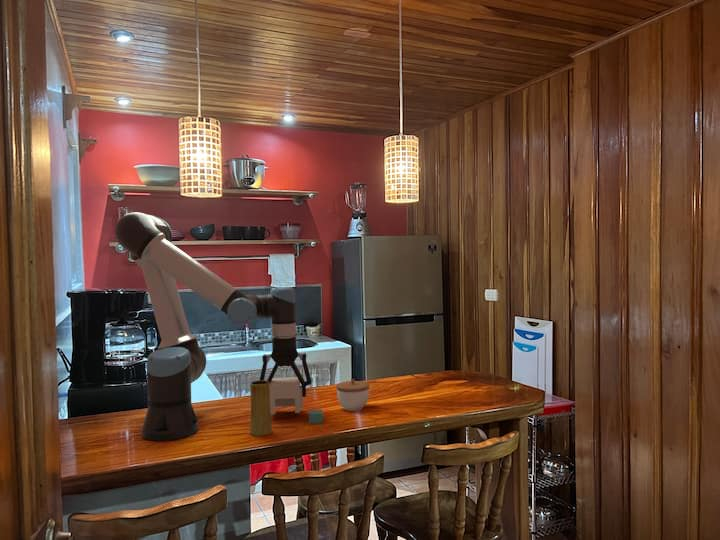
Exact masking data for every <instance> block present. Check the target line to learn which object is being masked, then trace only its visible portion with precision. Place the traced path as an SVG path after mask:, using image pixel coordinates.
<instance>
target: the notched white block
mask: <svg viewBox="0 0 720 540" xmlns="http://www.w3.org/2000/svg"><path fill="white" fill-rule="evenodd" d="M300 386H301V383H300V381H299V380H298V378H297V376H295V377H293V376H292V377H290V376H289V377H273V379H272V381H271V382H270V385H269V387H270V411H271V415H276V407H294V414H300V413H301V408H300Z"/></svg>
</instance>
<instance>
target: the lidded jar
mask: <svg viewBox="0 0 720 540" xmlns="http://www.w3.org/2000/svg"><path fill="white" fill-rule="evenodd" d="M369 394H370V384H369V383H368V382H365V381H361V380H355V379H353V378H352V379H351V380H346V381H341V382H338V383H337V384H336V397H337V400H338V403H339V404H340V406H341V408H343V410H345V411H349V412H356V411H360V410H361V411H362V409H363V407H365V406H366V404H367V402H368V399H369V396H370V395H369Z"/></svg>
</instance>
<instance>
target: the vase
mask: <svg viewBox="0 0 720 540" xmlns="http://www.w3.org/2000/svg"><path fill="white" fill-rule="evenodd" d="M249 386H250V429H249V433H250V435H252V436H256V437H263V436H267V435H270V434H271V433H272V432H273V428H272V414H271V411H270V385H269V381H267V380H265V379H264V380H260V379H259V380H254V381H251V382H250V385H249Z"/></svg>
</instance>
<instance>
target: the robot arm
mask: <svg viewBox="0 0 720 540" xmlns="http://www.w3.org/2000/svg"><path fill="white" fill-rule="evenodd" d="M114 236H115V239H116V241H117V243H118V245H120V247H122V248H123V249H124V250H125V251H127V252H129V253H130V254H131V255H132V257H133V262H134V263H135V264H137V265H139V266H140V267H141V268H140V269H141V270H142V274H143V278H144V281H145V286H146V288H147V293H148V296H149V300H150V303H151V308H152V310H153V314H154V317H155V318H154V319H155V321H156V324H157V328H158V333H159V336H160V339H161V341H160V343H159V346H157V349H156V350H154V351H151V353H150V354H148V356H147V359H146V360H147V361H146V362H147V363H146V375H147V376H146V377H147V379H146V380H147V381H146V382H147V384H146V385H147V411H146V414H145V417H144V420H143V423H142V426H141V436H142V438H143V439H145V440H148V441H154V442H158V441H159V442H164V441H165V442H166V441H172V440H173V441H174V440H179V439H183V438H186V437H189V436H192V435H193V434H195V433H197V432H198V431H199V421H198V417H197V414H196V412H195V409H194V407H193V403H192V384H193V383H194V382H195V381H197V380H199V379H200V377H201V376H202V375H203V373H204V371H205V369H206V366H207V355H206V353H205V351H204V350H203V348H202V347H200V345H199V342H198V339H197V336H196V335H194V334H193V333H191V332H190V329H189V325H188V321H187V318H186V314H185V310H184V306H183V302H182V299H181V294H180V292H179V288H178V285H177V281H178V282H179V283H181V284H182V285H183V286H185V287H187V288H188V290H190V291H192V292H193V293H195V294H197V295H198V296H199V297H201V298H202V299H203V300H206V301H207V302H208V303H209V304H211V305H213V306H214V308H215V307H216V308H217V309H218V310H220V311H221V312H222V313H224V314H225V315H227V316H228V319H229V320H230V322H232V323H233V324H234V325H238V326H243V325H244V326H245V325H249V324H250V323H251V322H253V321H254V320H255V319H257V320H258V319H271V335H272V338H271V341H272V342H271V343H272V345H271V347H272V348H271V350H272V351H271V353H270V354H263V355H262V367H261V372H260V377H259V380H265V377H266V372H267V368H268V363H269V362H270V360H271V359H272V360H273V362H274V365H273V367H272V370H271V371H270V373H269V376H268V378H267V380H266V381H269V386H270V382H271V381H272V379H273V378H275V377H274V376H275V374H276V372H277V370H278V368H279V367H280V368H282V367H287V368H288V367H290V368H291V369H292V370H293V373H294V374H295V377H297V378H298V380H299V381H300V409H303V402H304V401H303V398H306V397H307V386H311V385H312V378H311V374H310V371H309V367H308V363H307V353H306V352H302V353H301V352H298V351H297V337H296V335H297V321H296V320H297V319H296V318H297V317H296V316H297V314H296V313H297V312H296V311H297V310H296V307H297V305H296V292H295V289H294V288H293V287H291V286H290V287H286V286H284V287H282V286H281V287H272V288H271V290H270V293H267V294H244V293H243V292H241V291H240V290H238V289H237V288H235V287H234V286H233V285H231V284H230V283H228V282H227V281H226V280H224V279H223V278H222V277H220V276H218V275H217V274H216V273H214V272H212V271H211V270H210V269H208V268H207V267H206V266H204V265H203V264H202V263H200V262H198V261H197V260H196V259H194V258H193V257H192V256H190V255H189V254H187V253H186V252H184V251H183V250H181V249H180V248H178V247H177V246H175V245H174V244H172V241H173V231H172V229H171V227H170V225H169V224H168V223H167V222H166V221H165V220H164V219H163V218H161V217H159V216H157V215H153V214H146V213H143V212H140V211H139V212H137V211H136V212H135V211H134V212H128V213H127V214H124V215H123V216H121V217H120V218H119V219H118V220H117V222H116V224H115V227H114ZM298 358H299V360H300V361H301V362H302V366H303V371H304V375H305V378H306V379H305V378H304V377H303V375H302V373H301V372H300V370H299V367H298V366H297V364H296V362H295V361H296V360H297V359H298Z"/></svg>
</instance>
